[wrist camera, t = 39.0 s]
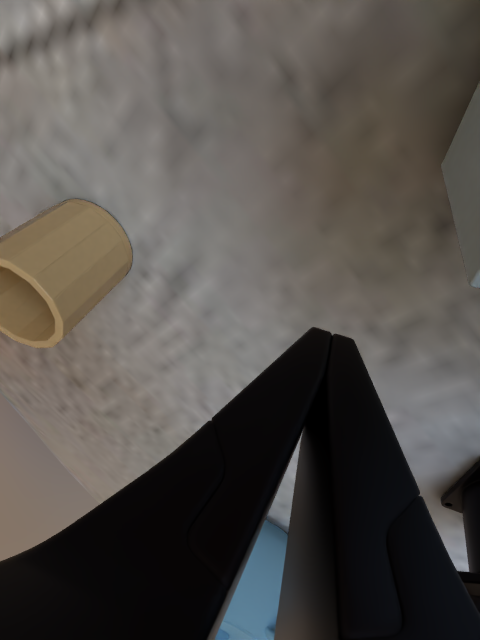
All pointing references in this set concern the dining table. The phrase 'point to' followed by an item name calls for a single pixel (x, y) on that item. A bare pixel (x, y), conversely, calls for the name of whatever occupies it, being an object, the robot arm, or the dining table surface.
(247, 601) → the teapot
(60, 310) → the stand
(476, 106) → the drawer
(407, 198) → the dining table surface
